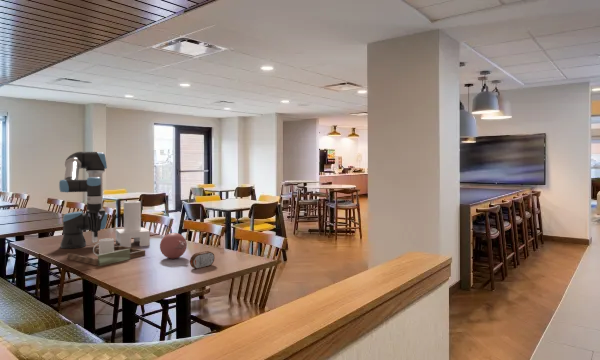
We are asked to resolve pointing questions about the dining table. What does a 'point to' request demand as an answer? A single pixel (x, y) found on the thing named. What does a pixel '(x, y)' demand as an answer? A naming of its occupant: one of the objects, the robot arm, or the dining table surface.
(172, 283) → the dining table surface
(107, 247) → the mug
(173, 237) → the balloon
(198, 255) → the tin
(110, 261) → the wooden compartment tray
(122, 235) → the white block stand
